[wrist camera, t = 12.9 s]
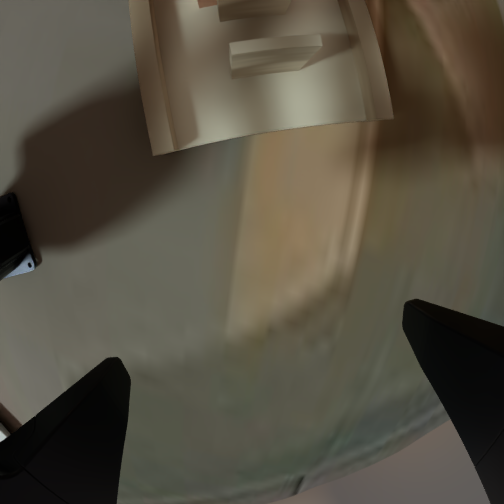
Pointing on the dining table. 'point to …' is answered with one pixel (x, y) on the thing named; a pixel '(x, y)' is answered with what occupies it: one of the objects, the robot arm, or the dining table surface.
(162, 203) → the dining table surface
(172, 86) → the dish rack
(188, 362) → the dining table surface
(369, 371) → the dining table surface
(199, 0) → the pink clay brick
